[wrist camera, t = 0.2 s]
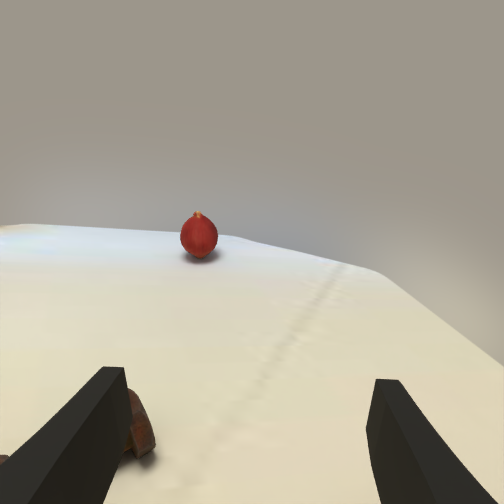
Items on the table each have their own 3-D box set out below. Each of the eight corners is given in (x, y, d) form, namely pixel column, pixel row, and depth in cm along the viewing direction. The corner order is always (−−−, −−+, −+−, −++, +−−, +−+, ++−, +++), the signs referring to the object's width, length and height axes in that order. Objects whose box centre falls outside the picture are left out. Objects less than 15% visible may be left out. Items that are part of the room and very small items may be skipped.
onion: (184, 249, 68) (181, 203, 64) (219, 249, 68) (218, 203, 64) (179, 266, 63) (175, 217, 59) (217, 266, 63) (215, 217, 59)
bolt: (-54, 553, 29) (146, 441, 37) (-66, 596, 25) (163, 459, 32) (-83, 477, 29) (124, 380, 36) (-101, 507, 24) (139, 390, 32)
